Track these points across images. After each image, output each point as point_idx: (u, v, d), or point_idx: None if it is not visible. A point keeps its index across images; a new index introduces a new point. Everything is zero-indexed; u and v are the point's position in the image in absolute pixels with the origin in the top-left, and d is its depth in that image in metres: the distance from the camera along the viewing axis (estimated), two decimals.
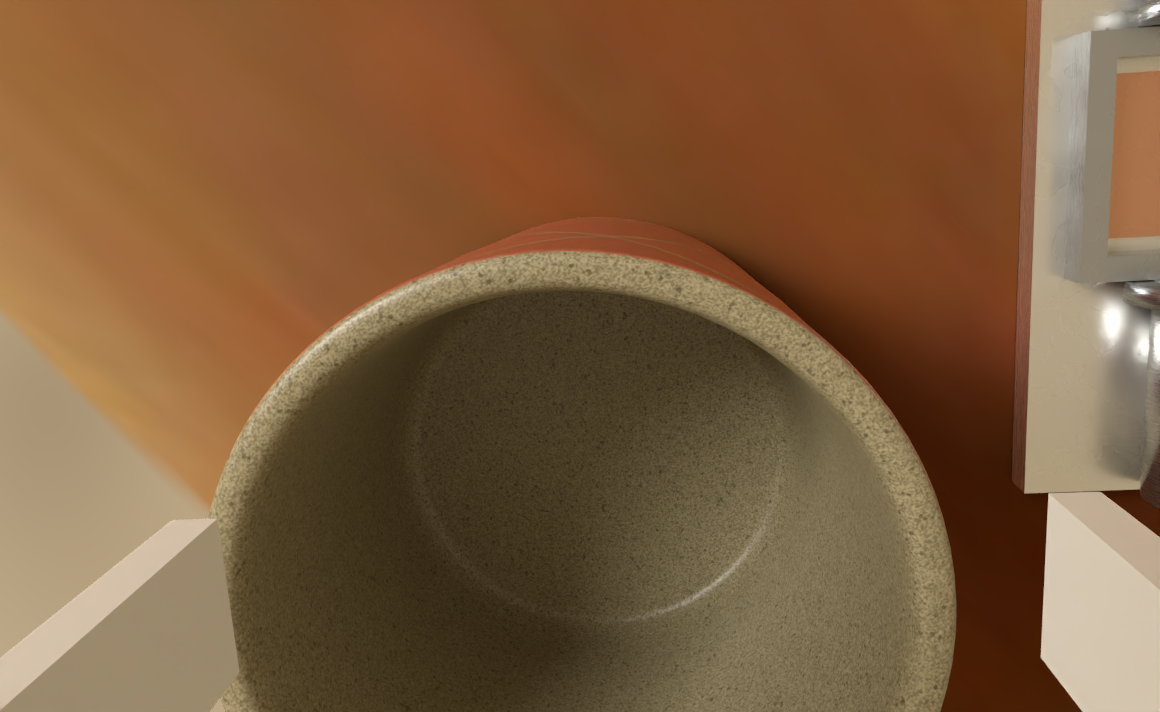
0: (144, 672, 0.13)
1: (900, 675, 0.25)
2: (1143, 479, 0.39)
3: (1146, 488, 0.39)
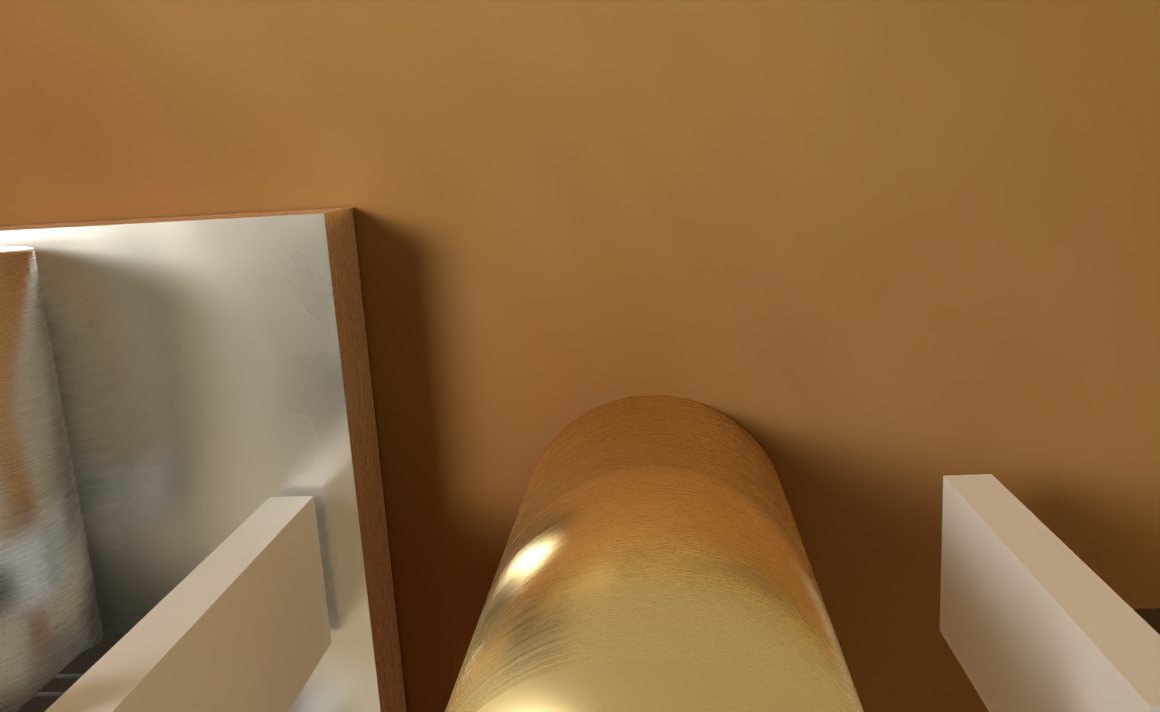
0: (261, 637, 0.14)
1: None
2: None
3: None
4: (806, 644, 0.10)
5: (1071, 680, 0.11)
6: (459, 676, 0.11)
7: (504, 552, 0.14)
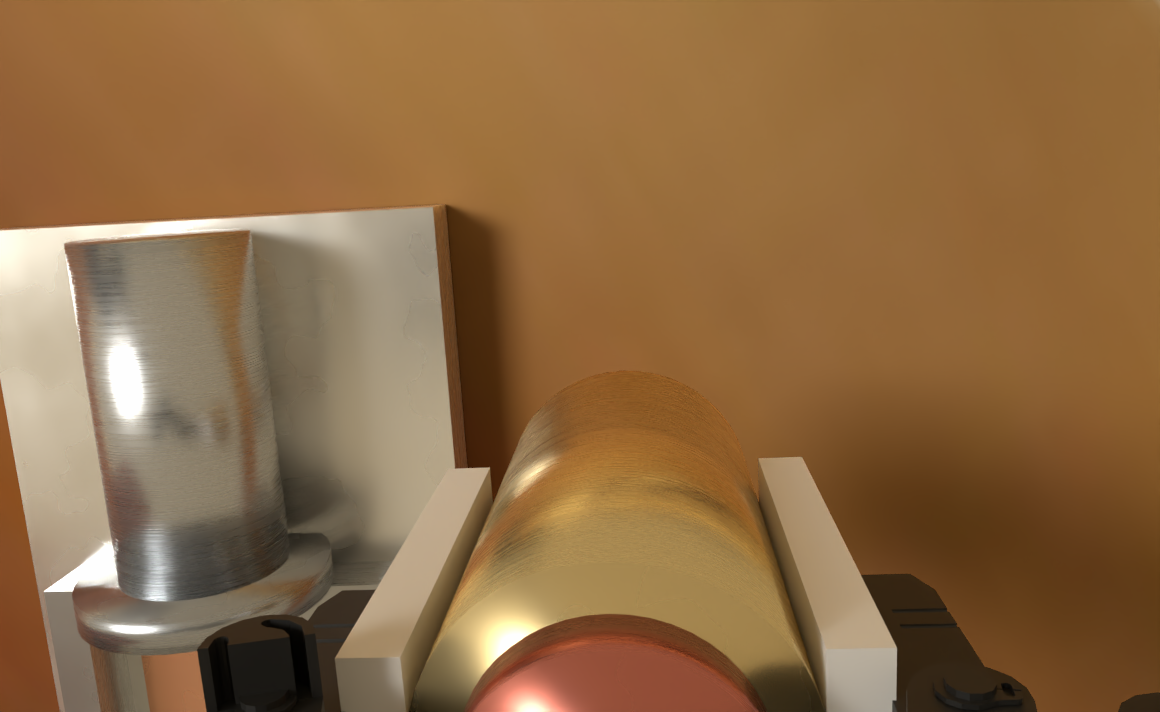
0: None
1: None
2: None
3: None
4: (746, 560, 0.12)
5: (802, 633, 0.12)
6: None
7: (493, 503, 0.16)
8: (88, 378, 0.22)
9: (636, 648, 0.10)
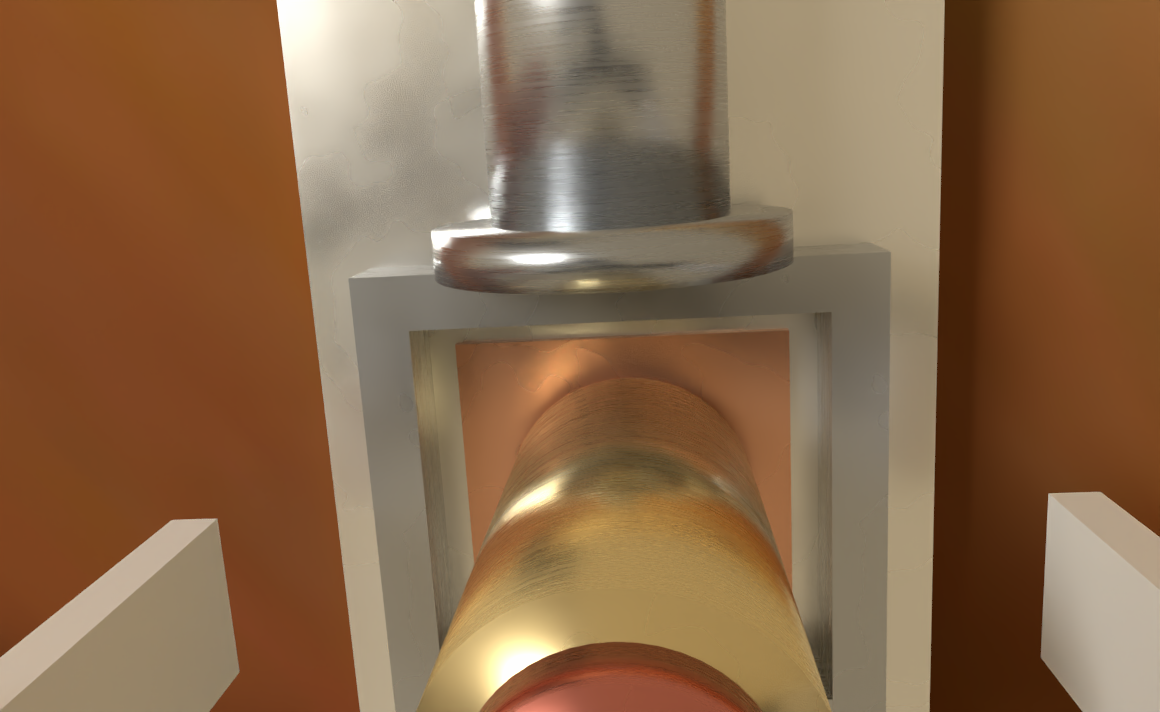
0: (144, 672, 0.13)
1: None
2: None
3: None
4: (757, 583, 0.11)
5: None
6: (454, 617, 0.12)
7: (493, 517, 0.16)
8: None
9: (645, 681, 0.09)
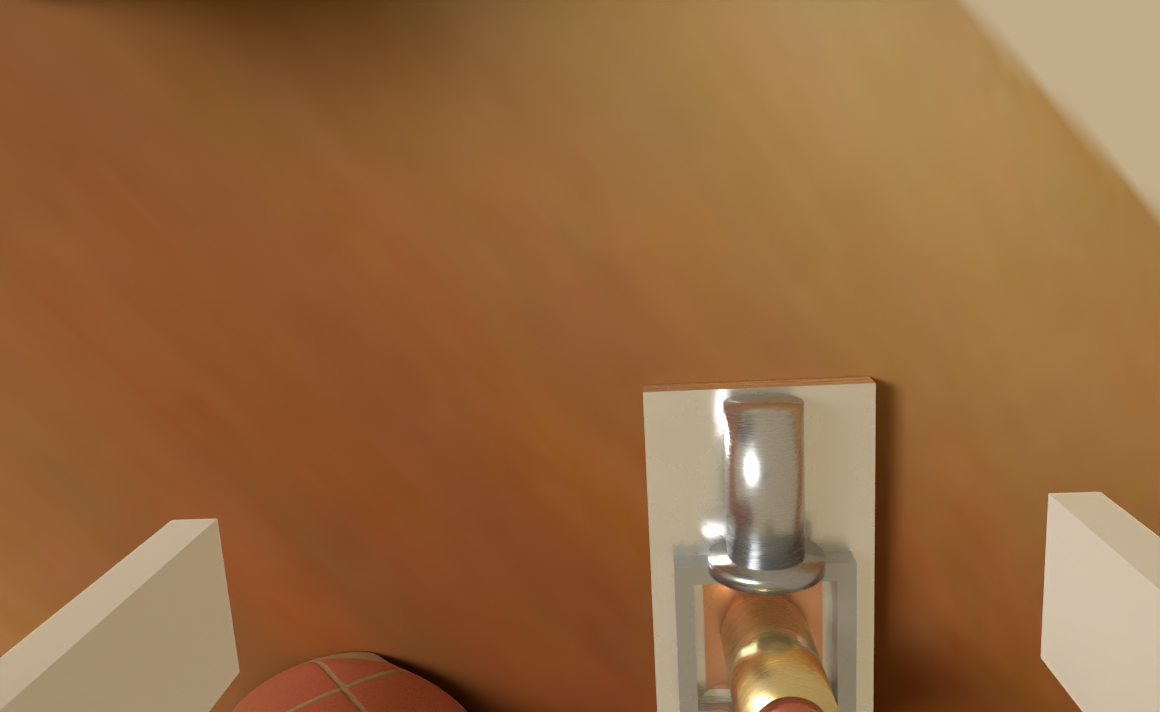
0: (144, 672, 0.13)
1: None
2: None
3: None
4: (821, 680, 0.45)
5: None
6: (740, 687, 0.46)
7: (732, 652, 0.49)
8: (739, 469, 0.48)
9: (800, 705, 0.43)
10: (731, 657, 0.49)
